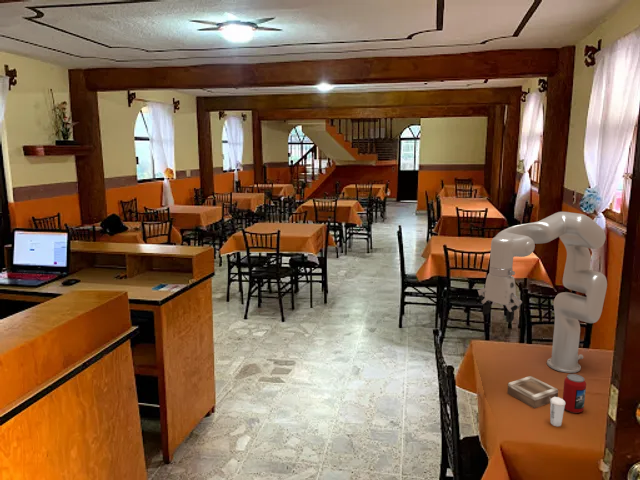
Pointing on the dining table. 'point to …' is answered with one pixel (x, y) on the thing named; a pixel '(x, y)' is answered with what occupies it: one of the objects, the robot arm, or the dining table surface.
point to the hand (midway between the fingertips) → (497, 317)
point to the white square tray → (532, 391)
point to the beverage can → (574, 393)
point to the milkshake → (556, 411)
